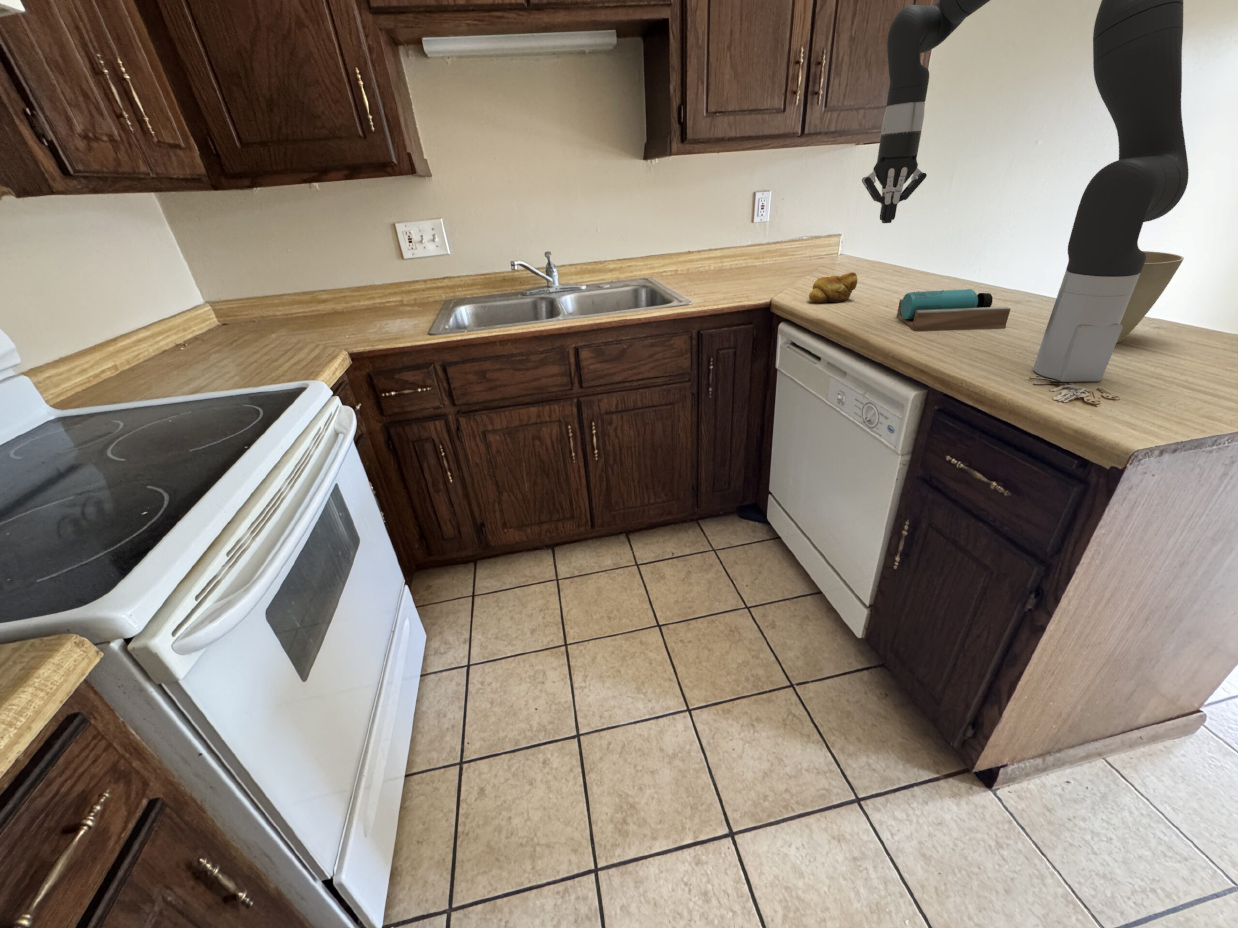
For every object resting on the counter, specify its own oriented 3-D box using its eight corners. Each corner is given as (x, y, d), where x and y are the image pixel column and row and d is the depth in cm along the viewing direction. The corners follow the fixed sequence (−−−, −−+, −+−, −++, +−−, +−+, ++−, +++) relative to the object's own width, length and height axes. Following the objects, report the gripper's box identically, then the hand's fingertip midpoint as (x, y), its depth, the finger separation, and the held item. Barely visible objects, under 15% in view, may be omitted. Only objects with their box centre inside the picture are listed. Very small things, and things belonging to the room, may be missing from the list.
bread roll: (815, 306, 146) (818, 277, 142) (799, 299, 155) (802, 271, 151) (858, 302, 148) (862, 272, 144) (840, 295, 156) (844, 267, 152)
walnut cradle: (1005, 328, 117) (1010, 308, 115) (914, 330, 120) (918, 312, 118) (978, 314, 128) (983, 296, 126) (896, 316, 131) (899, 299, 129)
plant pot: (1063, 325, 116) (1090, 248, 108) (1153, 336, 106) (1190, 252, 98) (1042, 340, 108) (1070, 259, 100) (1138, 354, 98) (1176, 265, 90)
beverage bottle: (904, 321, 122) (994, 317, 120) (907, 291, 120) (999, 287, 118) (892, 320, 128) (978, 316, 126) (895, 291, 126) (983, 287, 124)
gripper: (872, 133, 105) (859, 226, 114) (943, 126, 103) (924, 222, 112) (862, 135, 112) (850, 223, 120) (928, 129, 110) (912, 219, 118)
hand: (886, 222), depth 116 cm, fingers closed
